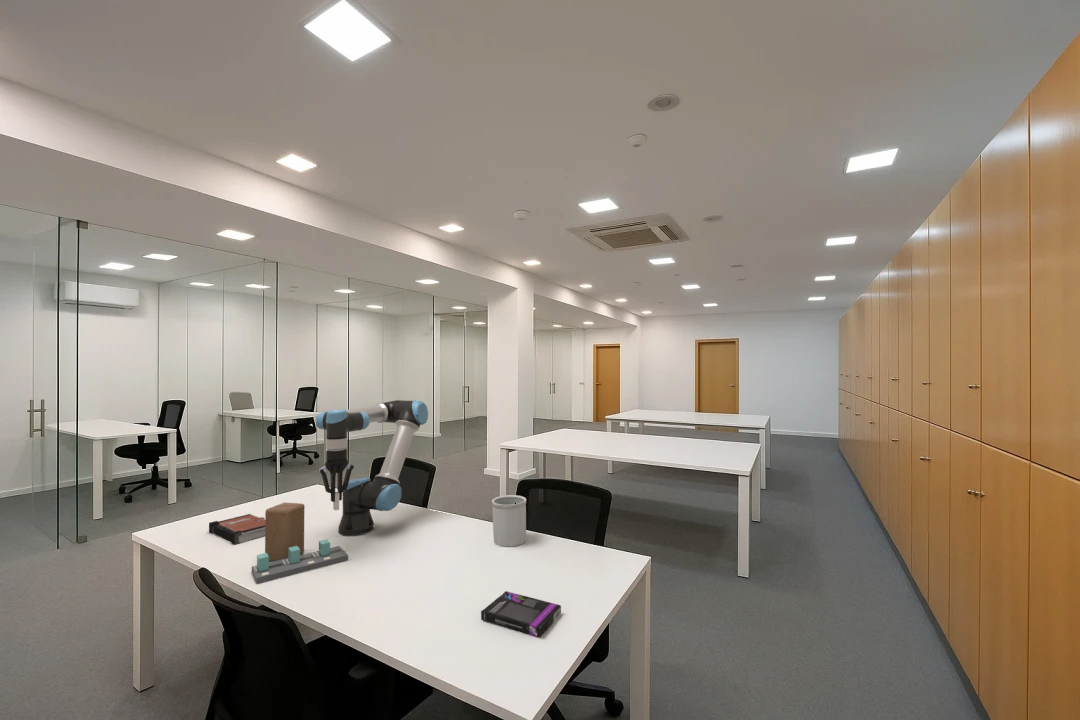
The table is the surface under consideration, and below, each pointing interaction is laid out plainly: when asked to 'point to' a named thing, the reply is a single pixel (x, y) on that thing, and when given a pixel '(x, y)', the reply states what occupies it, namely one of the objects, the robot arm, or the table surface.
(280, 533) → the wooden block
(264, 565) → the slider
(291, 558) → the slider
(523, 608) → the box
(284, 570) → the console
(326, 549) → the slider
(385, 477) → the robot arm
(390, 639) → the table surface
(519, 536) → the utensil holder
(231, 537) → the book
